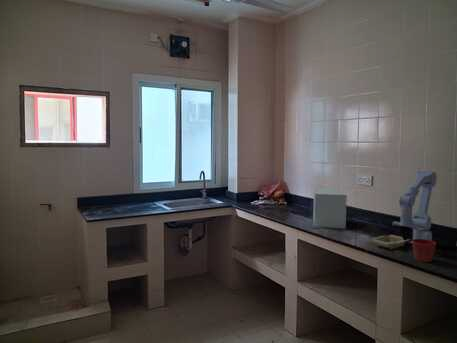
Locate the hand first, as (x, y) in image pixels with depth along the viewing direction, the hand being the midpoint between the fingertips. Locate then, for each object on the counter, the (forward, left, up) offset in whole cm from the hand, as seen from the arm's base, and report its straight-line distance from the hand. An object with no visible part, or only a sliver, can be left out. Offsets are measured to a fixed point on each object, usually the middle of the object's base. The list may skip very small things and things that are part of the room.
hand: (405, 239), depth 195 cm
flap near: (+2, 0, -1) cm, 3 cm away
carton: (+9, 0, -5) cm, 11 cm away
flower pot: (-15, +10, -6) cm, 19 cm away
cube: (+64, -14, -6) cm, 66 cm away
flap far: (+17, 0, -3) cm, 17 cm away
